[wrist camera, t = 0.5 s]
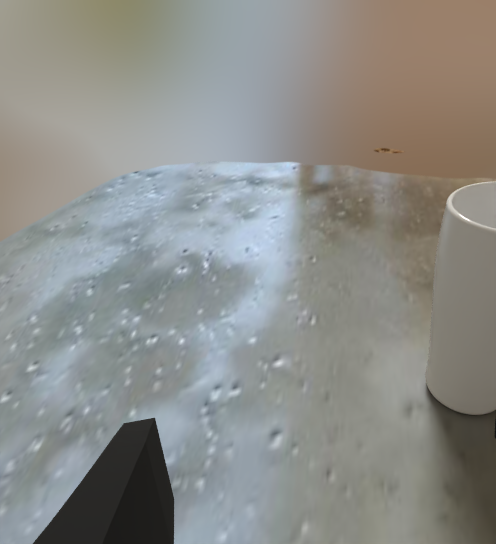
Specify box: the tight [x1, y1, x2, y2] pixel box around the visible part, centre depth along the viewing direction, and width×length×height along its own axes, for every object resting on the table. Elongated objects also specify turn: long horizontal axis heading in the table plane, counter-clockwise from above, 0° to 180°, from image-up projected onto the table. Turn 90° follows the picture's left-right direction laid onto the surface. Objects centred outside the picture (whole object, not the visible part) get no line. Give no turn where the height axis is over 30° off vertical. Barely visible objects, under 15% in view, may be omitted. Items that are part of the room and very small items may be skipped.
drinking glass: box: [425, 182, 496, 415], centre depth 27 cm, size 7×7×15 cm
